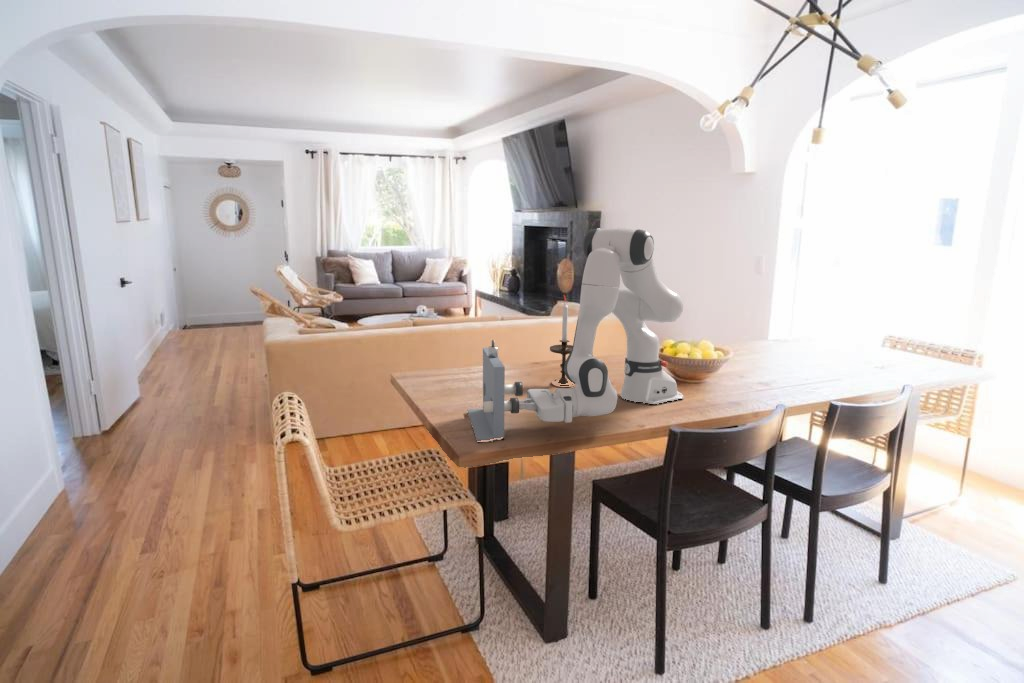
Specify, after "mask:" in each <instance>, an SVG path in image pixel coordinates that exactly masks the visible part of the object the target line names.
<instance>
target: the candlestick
mask: <svg viewBox="0 0 1024 683" xmlns="http://www.w3.org/2000/svg"><path fill="white" fill-rule="evenodd" d="M566 297H567V296H566V295H565V294H563V300H564V305H563V306H562V322H561V323H562V330H561V331H562V332H561V339H559V342H560V343H561V344H554V345H551V346H550V347H549V351H550V352H552V353H554V354H560V355H561V363H560V365H559V367H560V368H561V370H560V373H561V377H560V378H559V379H560V380H559V382H558V383H561V384H566V383H568V381H567V379H568V378H567V377H566V375H565V372H564V365H565V362H566V359H567V355H569V354H570V352H571V350H572V347H573V344H568V343H570V342H571V340H568V317H569V316H568V315H569V309H568V308H569V305H568V304H567V298H566ZM574 384H575V383H574ZM572 385H573V384H572ZM560 386H569V385H560Z"/></svg>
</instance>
